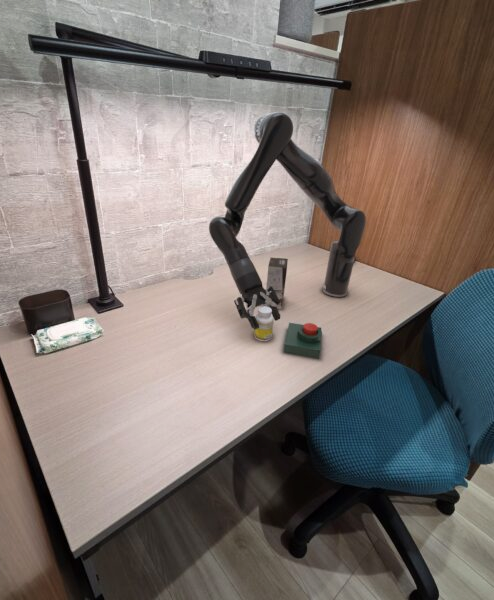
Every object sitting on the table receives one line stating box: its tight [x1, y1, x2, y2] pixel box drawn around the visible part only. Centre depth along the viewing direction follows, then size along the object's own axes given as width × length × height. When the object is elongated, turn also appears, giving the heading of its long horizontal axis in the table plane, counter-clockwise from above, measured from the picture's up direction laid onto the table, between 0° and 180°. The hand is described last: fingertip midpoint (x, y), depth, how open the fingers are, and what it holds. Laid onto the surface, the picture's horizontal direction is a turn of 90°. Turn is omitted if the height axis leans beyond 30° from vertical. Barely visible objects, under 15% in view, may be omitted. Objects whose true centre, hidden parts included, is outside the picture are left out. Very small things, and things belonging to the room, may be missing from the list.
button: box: [303, 322, 319, 335], centre depth 92 cm, size 4×4×2 cm
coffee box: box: [265, 257, 289, 310], centre depth 113 cm, size 9×6×16 cm
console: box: [283, 322, 323, 360], centre depth 94 cm, size 12×10×5 cm
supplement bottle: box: [254, 305, 274, 342], centre depth 95 cm, size 5×5×10 cm
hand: (267, 324), depth 94 cm, fingers open, 8 cm apart
